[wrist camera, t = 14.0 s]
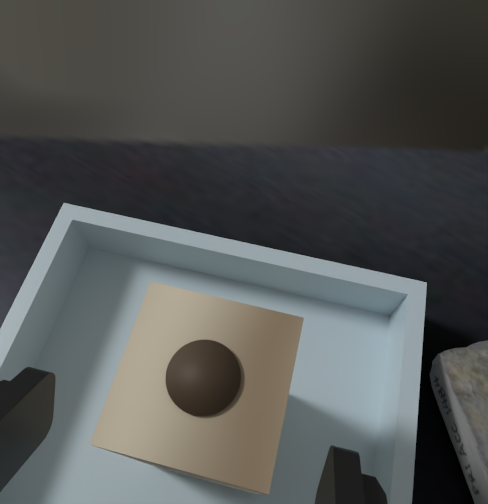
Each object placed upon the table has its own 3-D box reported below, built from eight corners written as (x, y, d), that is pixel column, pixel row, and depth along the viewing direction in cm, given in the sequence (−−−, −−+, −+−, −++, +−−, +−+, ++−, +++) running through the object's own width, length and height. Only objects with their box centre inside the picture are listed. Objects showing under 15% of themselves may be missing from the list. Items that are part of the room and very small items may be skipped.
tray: (-68, 564, 19) (-126, 578, 16) (84, 237, 26) (63, 202, 23) (367, 699, 18) (395, 744, 14) (403, 309, 25) (426, 282, 22)
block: (153, 465, 21) (88, 444, 12) (184, 364, 23) (150, 280, 14) (255, 494, 20) (268, 494, 11) (277, 388, 22) (304, 316, 13)
